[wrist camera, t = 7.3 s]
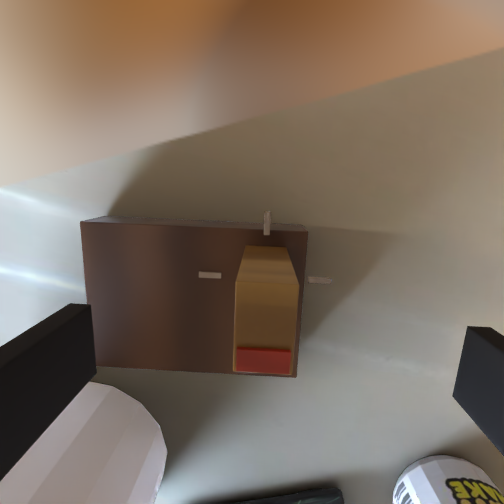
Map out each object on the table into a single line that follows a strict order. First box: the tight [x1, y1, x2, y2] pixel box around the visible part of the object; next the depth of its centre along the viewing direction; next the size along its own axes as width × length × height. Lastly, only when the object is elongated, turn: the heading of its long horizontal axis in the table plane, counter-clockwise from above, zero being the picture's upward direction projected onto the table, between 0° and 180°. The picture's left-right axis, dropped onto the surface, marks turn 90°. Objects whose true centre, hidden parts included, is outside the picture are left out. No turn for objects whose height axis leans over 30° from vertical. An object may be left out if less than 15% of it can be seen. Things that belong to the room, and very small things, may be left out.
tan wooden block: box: [233, 245, 299, 375], centre depth 16 cm, size 4×2×7 cm, turn 178°
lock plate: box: [80, 211, 331, 378], centre depth 21 cm, size 16×11×3 cm
